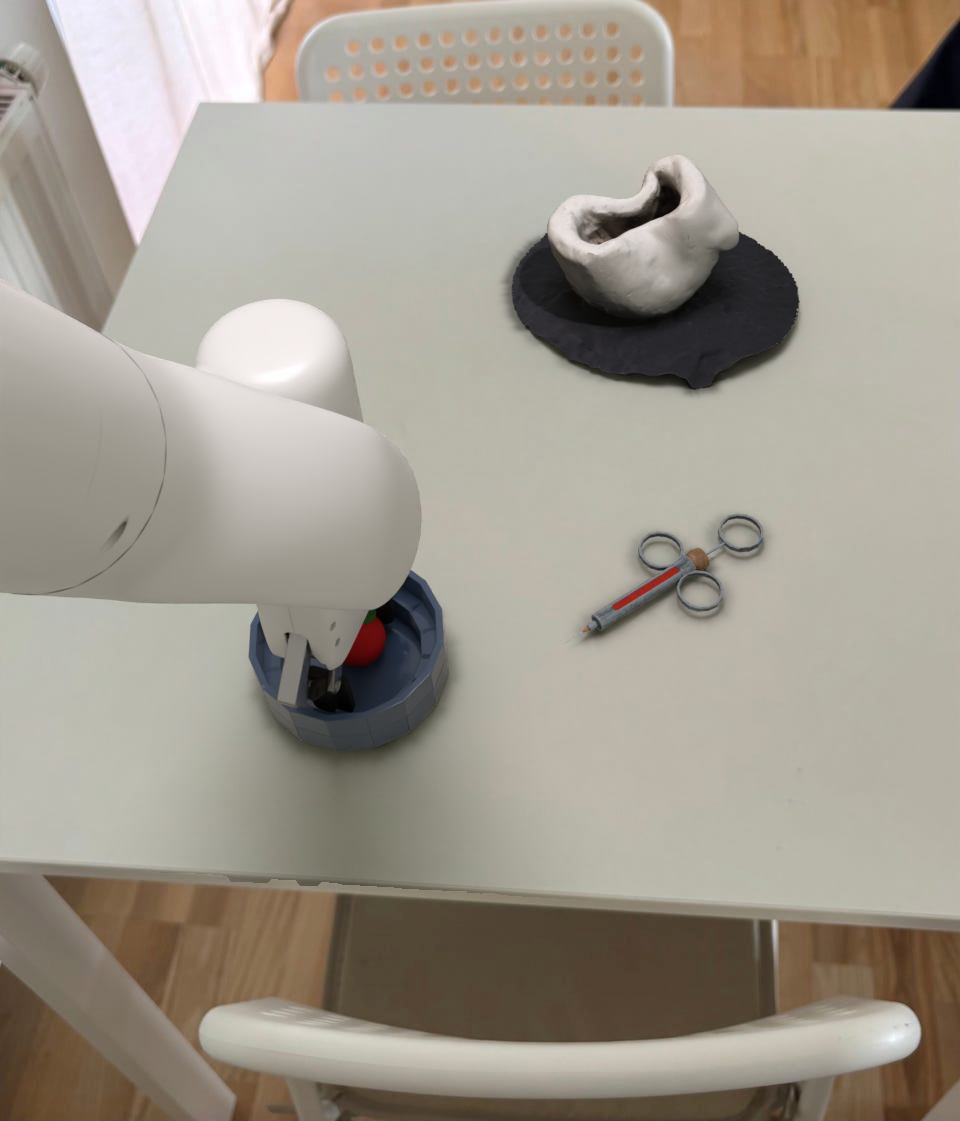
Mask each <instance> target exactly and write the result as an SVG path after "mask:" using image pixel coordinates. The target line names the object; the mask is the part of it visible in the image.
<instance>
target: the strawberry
mask: <svg viewBox="0 0 960 1121" xmlns="http://www.w3.org/2000/svg"><path fill="white" fill-rule="evenodd" d="M385 642H386V633H385V629H384V626H383V624H382V622H381V621H380V620H379V618H378V617H377V616H376V609H373V610H369V611H368V613H367V615H366V617H365V620H364V622H363V624H362V626H361V628H360V630H359V633H358V635H357V637H356V639H355V641H354V643H353V645H352V647H351V649H350V651H349V653H348V655H347V657H346V659H345V660H344V662H343V664H345V665H348V666H353V667H361V666H365V665H368V664H370V663H372V662H373V661H375V660H376V659H377V658H378V657H379V656H380V655H381V653H382V651H383V649H384V646H385Z"/></svg>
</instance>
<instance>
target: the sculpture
mask: <svg viewBox="0 0 960 1121" xmlns="http://www.w3.org/2000/svg"><path fill="white" fill-rule="evenodd" d="M546 225H547V226H546V232H545V233H544V235H543V236H542V237H541V239H540V241H537V242H536V243H535V244H533V246H531V247H530V249H528V251H527V252H526V253H525V255H524V256H523V257H522V258H521V259H519V263H518V265H517V266H516V268H515V272H514V274H513V275H512V278H513V279H512V284H511V289H512V291H511V294H512V302H513V303H512V304H513V305H514V306H513V309H514V310H515V311H516V313H517V316H519V317H518V318H519V319H520V321H521V323H523V324H524V326H525V327H527V326H528V328H529V330H530V331H531V333H533V334H534V335H535V336H539V337H542V338H543V339H545V340H547V342H549V343H550V344H551V345H552V346H554V347H555V348H558V349H559V350H560V352H561V353H565V358H567V359H568V360H569V361H573V362H575V361H576V362H579V363H581V364H583V365H588V366H589V368H592V369H599V370H600V371H602V372H604V373H608V374H609V373H611V374H617V375H622V374H623V375H624V376H627V374H633V373H634V374H642V375H643V374H644V375H645V376H650V377H657V376H661V375H662V376H663V375H666V374H672V375H675V376H677V377H680V378H681V379H682V378H684V379H685V380H686V381H687V382H688V384H689V386H690V388H693V389H695V390H696V389H701V388H706V387H710V386H711V385H712V384H713V381H714V380H715V376H716V375H717V374H719V373H720V372H721V371H723V372H725V370H728V368H732V366H734V365H735V364H736V363H737V362H738V361H740V360H742V359H743V358H747V357H751V356H755V355H758V354H761V353H762V352H765V351H767V350H770V349H773V347H774V348H775V347H777V346H778V345H781V343H782V342H784V339H785V337H786V336H787V335H788V333H790V331H791V330H792V326H794V325H795V321H797V319H796V318H798V316H799V315H798V313H799V311H798V309H800V308H799V304H800V303H801V301H800V298H799V296H800V295H799V286H798V285H797V282H796V280H795V278H794V277H793V276H794V275H793V273H792V272H790V270H789V268H788V266H787V265H785V263H784V261H782V259H781V258H779V256H778V255H776V254H775V253H774V252H773V251H772V250H771V249H769V248H766V247H765V246H764V245H762V244H761V243H759V241H758V240H756V239H755V238H753V237H751V236H748V235H746V234H745V233H742V232H741V231H739V222H738V220H737V219H736V217H735V216H734V215H733V213H732V212H731V211H730V209H728V207H727V206H726V204H725V203H724V201H723V200H722V198H721V197H720V196H719V195H718V193H717V191H716V189H715V187H713V185H712V184H711V183H710V181H709V180H708V179H707V177H706V175H705V174H704V172H703V171H702V170H701V169H700V168H699V166H697V164H696V163H695V162H693V160H691V159H690V158H688V157H687V156H685V155H682V154H679V153H678V154H677V153H675V154H672V155H669V156H665V157H662V158H660V159H658V160H656V161H654V162H652V163H651V164H650V165H649V166H648V169H647V170H646V172H645V175H644V177H643V180H642V184H641V188H640V190H639V191H638V192H637V193H636V194H635V195H634V196H631V197H628V198H615V197H611V196H610V197H609V196H604V195H603V196H602V195H595V194H585V193H583V194H575V195H572V196H568V197H567V198H565V200H563V201H562V202H561V203H560V204H559V205H558V206H557V207H556V208H555V210H554V211H553V212H552V214H551V216H550V217H549V218H548V221H547V224H546Z"/></svg>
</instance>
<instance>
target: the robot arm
mask: <svg viewBox="0 0 960 1121" xmlns="http://www.w3.org/2000/svg"><path fill="white" fill-rule="evenodd" d="M199 343H200V344H199V346H198V349H197V352H196V358H195V364H194V367H193V366H190V365H186V364H182V363H179V362H177V361H172V360H168V359H165V358H161V357H157V356H154V355H151V354H147V353H145V352H144V353H143V352H141V351H138V350H136V349H133V348H131V347H128V346H127V345H125V344H123V343H120V342H118V341H116V340H115V339H113V338H111V337H109V336H107V335H106V334H104V333H102V332H100V331H98V330H96V329H93V328H91V327H90V326H88V325H86V324H84V323H83V322H80V321H78V320H77V319H75V318H73V317H72V316H69V315H68V314H66V313H64V312H62V311H61V310H59V309H56V308H55V307H53V306H52V305H49V304H47V303H46V302H44V301H42V300H40V299H38V298H36V297H35V296H33V295H31V294H29V293H28V292H26V291H24V290H22V289H21V288H18V287H16V286H15V285H13V284H12V283H9V282H8V281H6V280H4V279H2V278H0V594H11V595H18V596H20V595H21V596H37V597H39V596H40V597H55V598H72V599H73V598H75V599H90V600H91V599H93V600H107V601H117V602H124V603H137V604H155V605H156V604H158V605H160V604H163V605H165V604H167V605H187V604H189V605H195V604H196V605H197V604H198V605H209V604H211V605H212V604H216V605H217V604H224V605H225V604H230V605H231V604H232V605H233V604H235V605H240V604H241V605H256V610H257V611H258V614H259V618H260V622H261V625H262V629H263V632H264V635H265V638H266V641H267V644H268V646H269V648H270V650H271V652H272V653H273V654H274V655H276V656H279V657H282V658H285V660H284V665H283V670H282V676H281V681H280V686H279V692H278V697H277V702H278V703H280V704H283V705H287V706H290V707H294V708H298V707H300V706H302V705H304V704H305V703H307V700H311V701H313V704H314V705H315V706H316V707H317V708H319V709H321V710H325V711H328V712H335V711H336V709H339V710H342V711H346V712H350V713H352V712H353V710H354V708H355V706H356V704H355V700H354V696H353V693H352V690H351V686H350V683H349V679H348V678H347V677H346V676H344V675H342V663H343V662H344V660H345V659H346V657H347V655H348V653H349V651H350V649H351V647H352V645H353V643H354V641H355V639H356V637H357V635H358V633H359V630H360V628H361V626H362V624H363V622H364V620H365V617H366V615H367V613H368V611H369V610H373V609H376V616H377V617H378V618H379V620H380V621H381V622H382V623H384V624H390V623H392V622H393V620H394V617H395V612H394V607H393V602H392V597H393V596H394V595H395V594H396V593H397V591H398V590H399V589H400V587H401V586H402V585H403V583H404V581H405V580H406V578H407V576H408V574H409V572H410V570H412V567H413V565H414V563H415V560H416V556H417V553H418V549H419V545H420V539H421V534H422V522H423V520H422V517H423V516H422V502H421V495H420V490H419V486H418V482H417V480H416V477H415V476H416V475H415V473H414V470H413V468H412V466H411V465H410V463H409V460H408V459H407V458H406V456H405V455H404V454H403V452H402V450H401V449H400V448H399V447H398V446H397V445H396V444H395V443H394V442H393V441H392V440H391V439H389V438H388V437H387V436H385V435H384V434H383V433H382V432H380V431H379V430H377V429H375V428H374V427H372V426H370V425H368V424H366V423H365V422H364V417H363V412H362V406H361V401H360V396H359V391H358V386H357V385H358V384H357V381H356V374H355V370H354V364H353V361H352V356H351V351H350V348H349V345H348V341H347V339H346V336H345V335H344V332H343V331H342V330H341V328H340V326H339V325H338V323H336V321H334V319H333V318H331V316H329V315H328V314H327V313H326V312H324V311H322V310H320V309H319V308H317V307H316V306H314V305H313V304H312V305H311V304H309V303H307V302H304V301H300V300H295V299H289V298H269V299H263V300H257V301H254V302H250V303H246V304H243V305H241V306H238V307H237V308H235V309H232V310H230V311H229V312H227V313H226V314H224V315H223V316H221V317H220V318H219V319H217V320H216V321H215V322H214V324H212V325H211V326H210V327H209V328H208V330H207V332H206V333H205V335H204V336H203V338H202V340H201V341H200V342H199ZM311 658H314V659H317V660H318V661H319V662H320V663H321V664H326V666H327V669H325V668H322V667H318V666H315V665H312V666H310V661H311Z"/></svg>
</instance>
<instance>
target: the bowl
mask: <svg viewBox="0 0 960 1121" xmlns="http://www.w3.org/2000/svg"><path fill="white" fill-rule="evenodd" d="M392 602H393V607H394V612H395V617H394V620H393V622H392V623H390V624H384V623H382V624H383V626H384V629H385V633H386V642H385V646H384V649H383V651H382V653H381V655H380V656H379V657H378V658H377V659H376V660H375V661H373V662H372V663H370V664H368V665H365V666H361V667H353V666H348V665H345V664H343V663H342V675H344V676H346V677H347V678H348V679H349V683H350V686H351V690H352V693H353V696H354V700H355V704H356V706H355V708H354V710H353V712H352V713H350V712H346V711H342V710H339V709H336V711H335V712H328V711H325V710H321V709H319V708H317V707H316V706H315V705H314V704H313V701H311V700H307V703H305V704H304V705H302V706H300V707H298V708H294V707H290V706H287V705H283V704H280V703H278V702H277V697H278V692H279V686H280V681H281V676H282V670H283V665H284V660H285V658H282V657H279V656H276V655H274V654H273V653H272V652H271V650H270V648H269V646H268V644H267V641H266V638H265V635H264V632H263V629H262V625H261V622H260V618H259V614H258V610H257V611H256V613H255V616H254V617H253V619H252V621H251V623H250V624H249V625H250V626H249V639H248V640H249V643H248V660H249V662H250V664H251V667H252V669H253V672H254V674H255V676H256V678H257V680H258V684H259V685H260V687H261V688H260V689H261V690H262V692H263V695H264V696H265V699H266V701H267V704H268V707H269V709H270V711H271V713H272V716H273V718H274V719H275V720H276V721H277V722H278V723H279V724H280V725H282V726H283V727H284V729H286V730H287V731H288V732H289V733H291V734H292V735H293V736H294V737H295V738H297V739H298V740H299V741H301V742H303V743H306V744H310V745H313V746H317V747H319V748H323V749H327V750H330V751H333V752H337V753H339V752H351V751H360V750H374V749H377V748H379V747H382V746H384V745H385V744H387V743H390V742H392V741H394V740H396V739H398V738H400V737H402V736H405V735H407V734H409V733H411V732H412V731H413V730H414V729H415V728H416V727H417V726H418V725H419V724H420V723H421V722H422V721H423V720H424V719H425V718H426V717H427V715H429V714H430V713H431V712H432V711H433V709H434V708H435V707H436V705H437V703H438V701H439V698H440V696H441V694H442V691H443V688H444V687H445V683H446V681H447V679H448V676H449V661H448V660H449V659H448V658H449V657H448V643H447V636H446V629H445V621H444V620H445V619H444V612H443V607H442V606H441V604H440V603H439V600H438V599H437V597H436V596H435V594H434V592H433V591H432V588H431V587H430V585H429V583H428V582H427V580H426V579H424V578H423V577H421V575H419V574H418V573H416V572H415V571H413V570H412V569H411V570H410V572H409V574H408V576H407V578H406V580H405V581H404V583H403V585H402V586H401V587H400V589H399V590H398V591H397V593H396V594H395V595H394V596H393V597H392ZM312 665H315V666H318V667H322V668H325V669H327V666H326V664H321V663H320V662H319V661H318V660H317V659H314V658H311V661H310V666H312Z"/></svg>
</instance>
